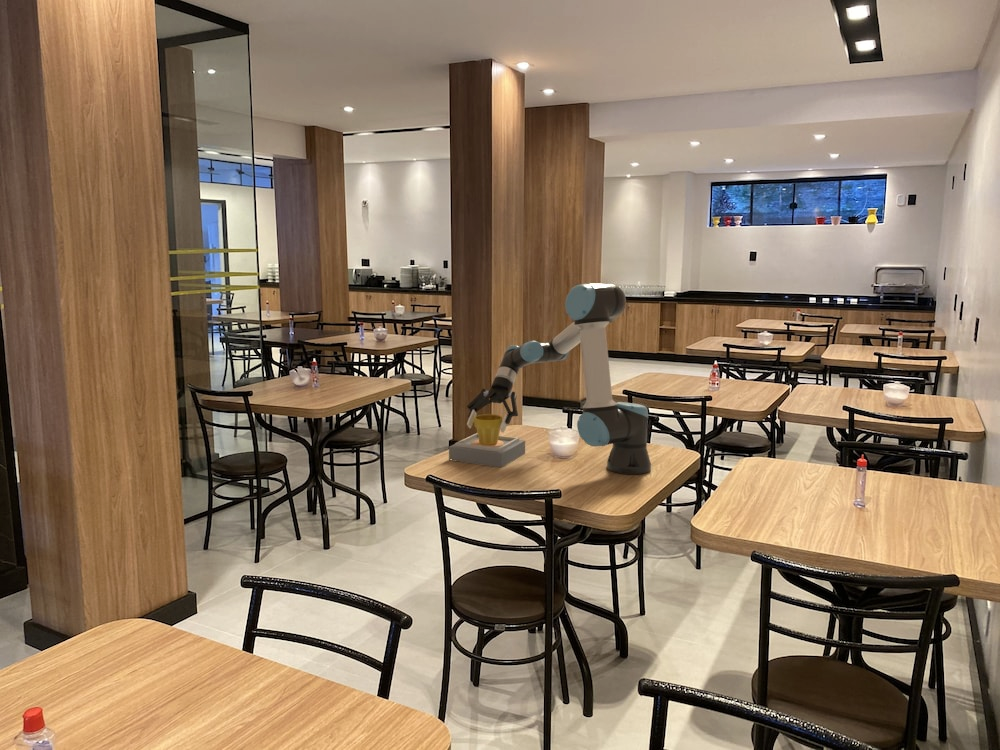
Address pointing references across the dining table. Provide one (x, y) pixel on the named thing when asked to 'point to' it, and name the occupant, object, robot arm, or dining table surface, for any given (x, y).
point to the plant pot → (488, 428)
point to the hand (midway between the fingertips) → (484, 428)
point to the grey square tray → (487, 451)
